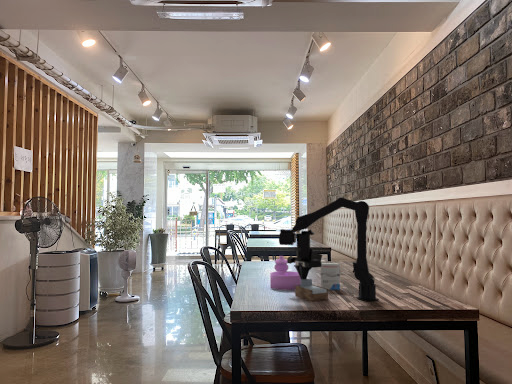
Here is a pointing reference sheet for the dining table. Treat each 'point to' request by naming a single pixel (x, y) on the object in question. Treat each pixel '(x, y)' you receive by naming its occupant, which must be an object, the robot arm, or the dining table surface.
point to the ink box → (330, 276)
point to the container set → (283, 276)
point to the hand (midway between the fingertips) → (303, 282)
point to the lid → (311, 286)
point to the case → (310, 294)
